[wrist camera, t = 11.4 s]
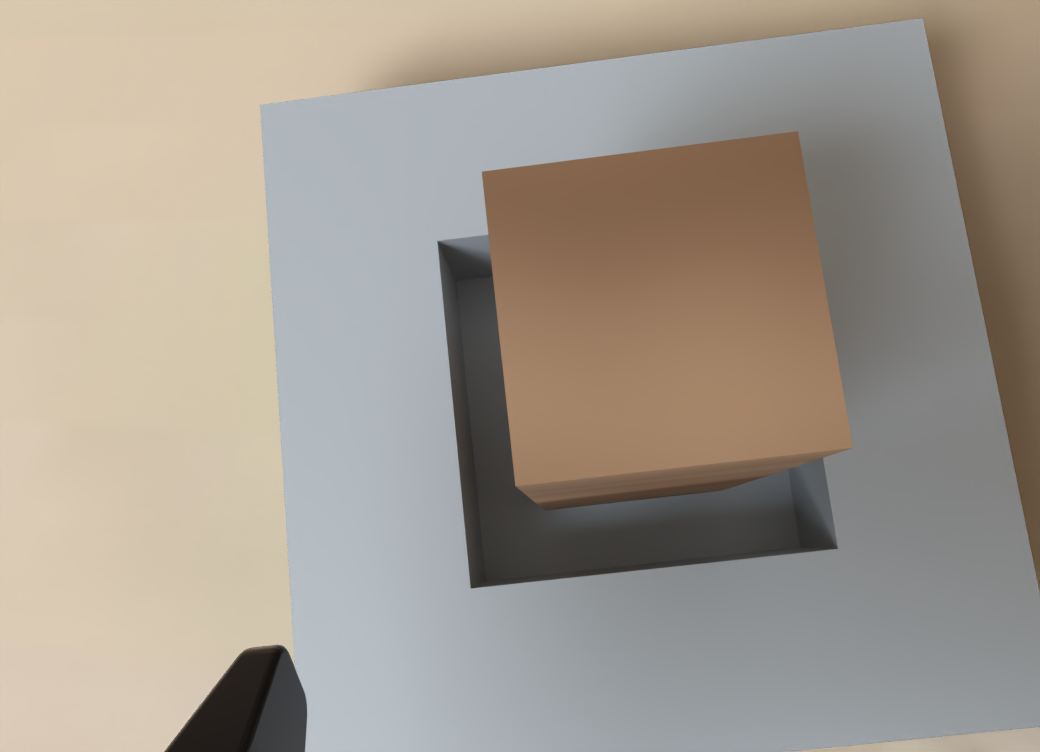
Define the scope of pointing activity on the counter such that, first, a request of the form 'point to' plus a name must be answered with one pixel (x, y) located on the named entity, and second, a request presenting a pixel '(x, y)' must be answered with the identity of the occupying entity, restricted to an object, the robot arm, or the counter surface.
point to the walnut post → (662, 321)
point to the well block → (649, 522)
